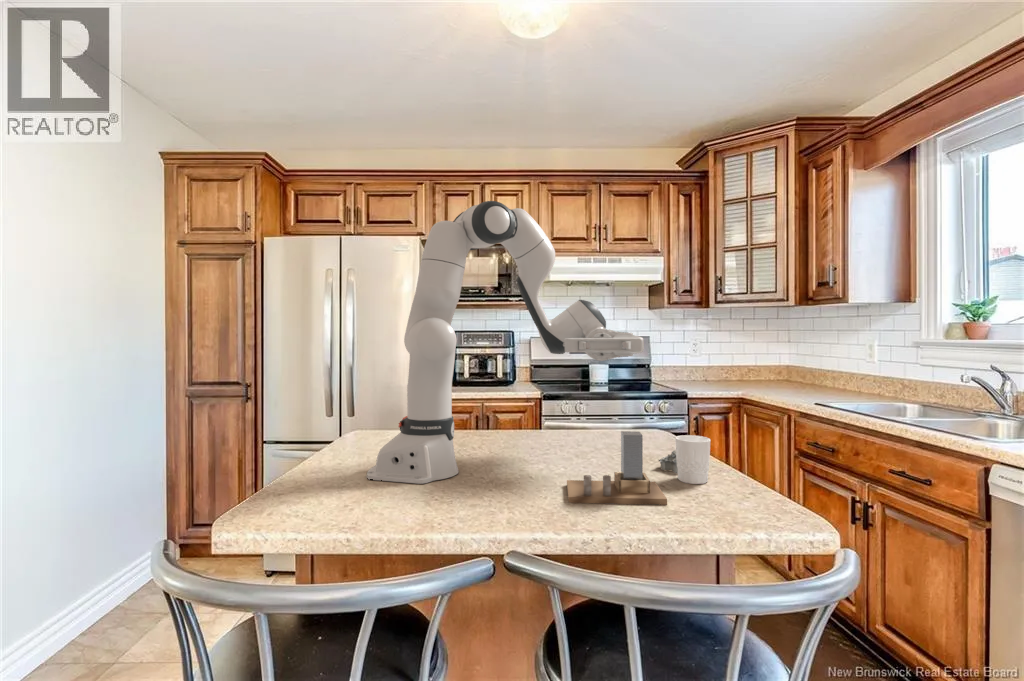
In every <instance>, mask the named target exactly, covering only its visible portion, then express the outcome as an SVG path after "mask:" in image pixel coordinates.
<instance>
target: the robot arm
mask: <svg viewBox="0 0 1024 681" xmlns="http://www.w3.org/2000/svg"><path fill="white" fill-rule="evenodd" d="M425 241H426V242H425V245H424V249H423V251H422V254H421V255H422V256H421V261H420V266H419V270H418V271H419V272H418V277H417V282H416V287H415V293H414V296H413V299H412V303H411V307H410V311H409V316H408V319H407V324H406V328H405V333H404V337H403V339H404V340H403V342H404V347H405V349H406V351H407V353H408V354H409V363H408V376H407V377H408V378H407V385H406V388H407V389H406V392H407V395H406V397H407V399H406V400H407V403H406V404H407V408H406V409H407V414H406V416H404V417H402V420H400V421H399V423H398V428H399V431H400V432H399V433H398V434H397V435H396V436H394V437H393V438H392V439H390V440H389V441H388V442H387V443H385V444H384V445H383V446H382V447H381V449H379V451H378V454H377V458H376V464H375V465H373V466H371V468H369V469H368V471H366V472H367V473H366V479H367V478H368V480H370V479H373V481H381V480H382V481H383V482H394V483H396V482H397V483H407V484H419V485H420V484H421V485H422V484H423V485H424V484H427V483H428V484H429V483H431V482H434V481H439V480H445V479H449V478H452V477H454V476H456V475H458V474H459V472H460V471H459V467H458V464H457V458H456V455H455V448H454V436H455V420H454V416H453V413H452V412H453V409H452V408H453V404H452V403H453V402H452V401H453V392H452V391H453V377H454V369H455V361H456V360H455V359H456V350H457V349H456V347H457V343H458V342H457V341H458V340H457V335H456V332H455V330H454V328H453V327H452V326H451V324H452V321H453V317H454V314H455V311H456V309H457V305H458V303H459V300H460V297H461V292H462V286H463V282H464V281H463V280H464V274H465V269H466V268H465V267H466V262H467V258H468V255H469V252H470V251H475V250H480V249H487V248H489V247H492V246H495V245H497V244H500V245H502V246H503V247H504V248H505V249H506V250H507V252H508V253H509V254H510V256H511V258H512V259H513V261H514V262H515V263H516V266H517V267H516V268H517V271H518V272H517V273H518V275H517V277H516V285H517V288H518V291H519V294H520V296H521V298H522V300H523V302H524V304H525V307H526V308H527V310H528V313H529V315H530V316H531V319H532V321H533V323H534V324H535V327H536V329H537V331H538V334H539V339H540V341H541V343H542V345H543V347H544V348H545V349H546V350H547V351H548V352H549V353H550V354H552V355H553V354H554V355H564V354H565V353H585V354H586V355H587V356H588V357H590V358H591V359H593V360H595V361H599V362H604V361H609V360H613V359H615V358H623V357H624V358H628V357H633V356H634V355H635V354H641V353H643V352H644V346H645V345H644V338H643V337H642V336H639V335H635V334H634V332H627V331H626V332H625V331H616V330H611V329H606V328H607V321H606V319H605V317H604V315H603V314H602V312H601V311H600V310H599V308H598V307H597V306H596V305H595V304H593V303H592V302H591V301H589V300H585V299H578V300H577V301H575V302H573V303H572V304H571V305H569V306H568V307H567V308H565V309H564V310H563V311H562V312H560V313H559V314H558V315H557V316H555V317H553V318H552V319H549V318H548V317H547V315H546V313H545V310H544V307H543V306H542V303H541V302H540V298H539V293H540V289H541V287H542V285H543V283H544V282H545V281H546V279H547V278H548V276H549V274H550V273H551V271H552V270H553V268H554V264H555V260H556V250H555V248H554V246H553V243H552V242H551V240H550V238H549V237H548V235H547V234H546V232H545V231H544V229H543V228H542V227H541V225H540V224H538V222H537V221H536V220H535V219H534V218H533V216H532V215H531V214H529V213H528V212H527V211H526V210H525V209H524V208H520V207H519V208H518V207H517V208H510V207H508V206H506V204H503V203H502V202H499V201H496V200H486V201H482V202H481V203H479V204H476V205H472V206H470V207H469V208H467V209H466V210H464V211H462V212H461V213H459V214H457V216H456V217H455V218H454V220H453V221H451V220H440V221H437V222H436V223H434V224H433V226H431V228H430V231H429V233H428V236H427V238H426V240H425Z"/></svg>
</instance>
